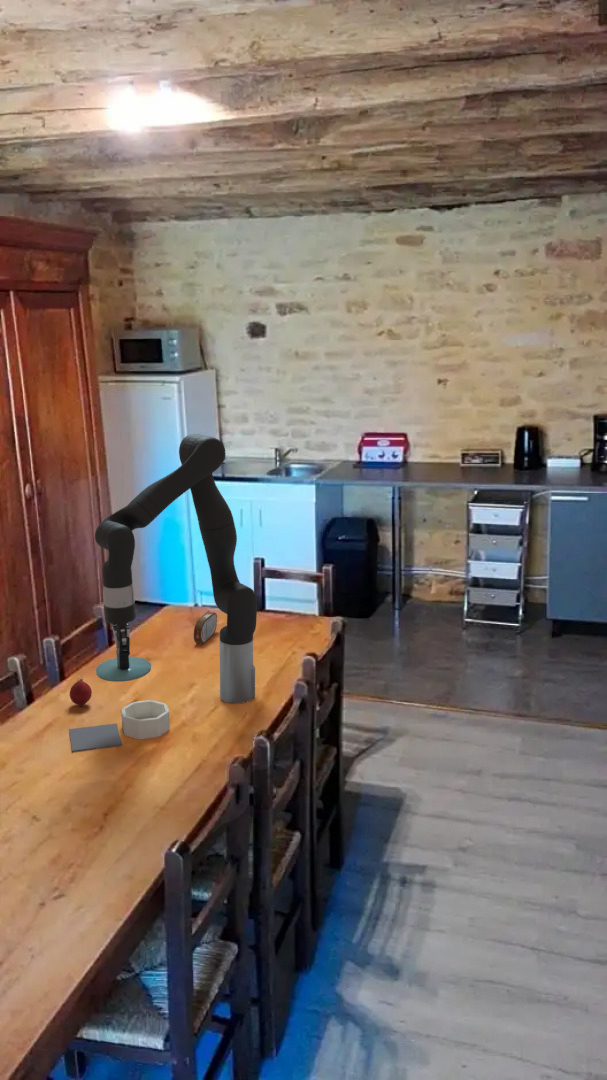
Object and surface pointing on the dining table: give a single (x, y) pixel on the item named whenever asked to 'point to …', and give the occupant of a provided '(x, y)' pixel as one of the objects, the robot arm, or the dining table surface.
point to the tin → (205, 627)
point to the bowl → (145, 719)
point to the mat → (95, 737)
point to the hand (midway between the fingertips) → (123, 665)
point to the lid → (113, 672)
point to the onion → (80, 692)
